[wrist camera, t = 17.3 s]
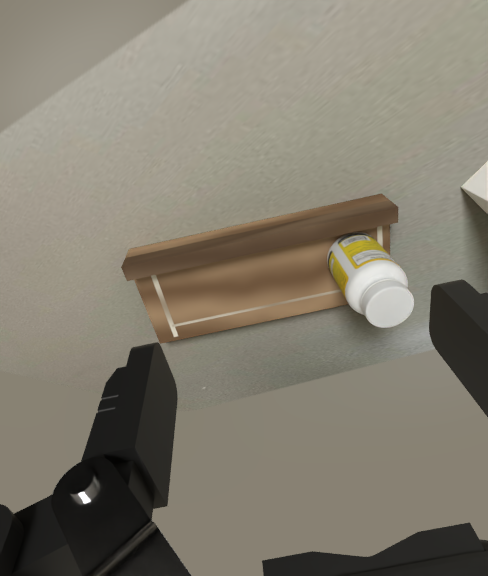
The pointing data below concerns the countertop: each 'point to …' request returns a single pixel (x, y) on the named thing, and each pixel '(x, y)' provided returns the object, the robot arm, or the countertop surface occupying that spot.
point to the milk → (478, 187)
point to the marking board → (251, 269)
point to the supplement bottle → (370, 279)
